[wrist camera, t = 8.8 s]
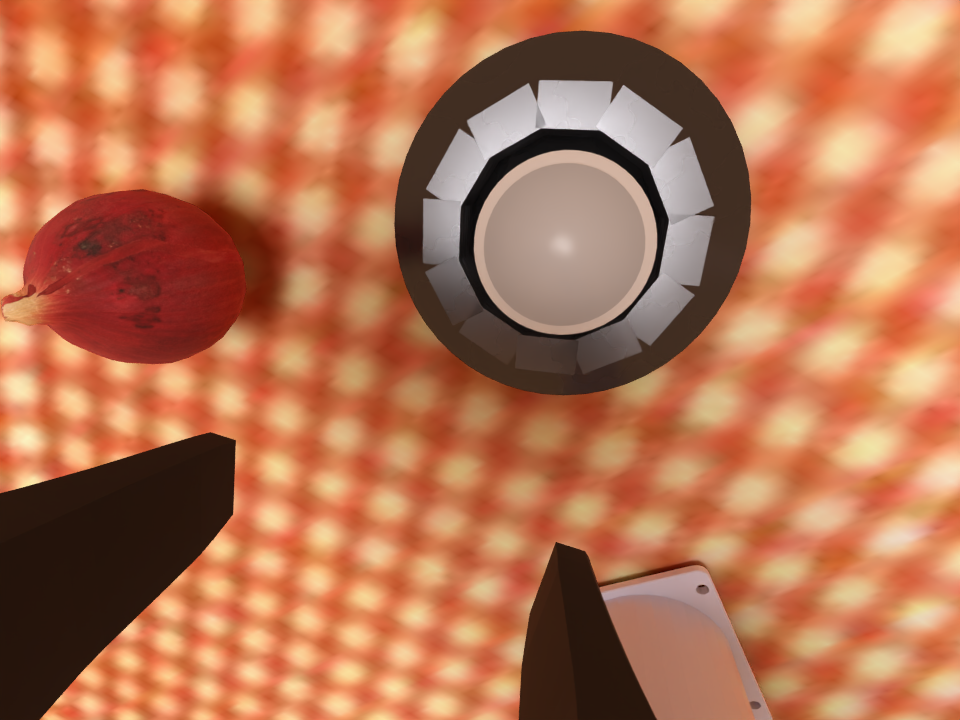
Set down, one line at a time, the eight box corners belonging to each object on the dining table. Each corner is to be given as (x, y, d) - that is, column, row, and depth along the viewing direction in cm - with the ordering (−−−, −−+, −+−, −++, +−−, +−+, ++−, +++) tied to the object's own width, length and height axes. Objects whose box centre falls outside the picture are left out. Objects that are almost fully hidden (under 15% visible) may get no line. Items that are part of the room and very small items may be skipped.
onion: (200, 158, 18) (-53, 135, 11) (312, 262, 19) (145, 306, 11) (141, 266, 20) (-105, 308, 13) (243, 356, 21) (64, 446, 14)
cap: (653, 270, 16) (683, 299, 12) (528, 317, 17) (513, 360, 13) (607, 135, 15) (622, 112, 11) (478, 198, 16) (443, 199, 12)
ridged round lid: (791, 316, 16) (829, 337, 14) (486, 428, 20) (475, 461, 18) (668, -52, 14) (689, -105, 11) (342, 157, 17) (305, 151, 15)
